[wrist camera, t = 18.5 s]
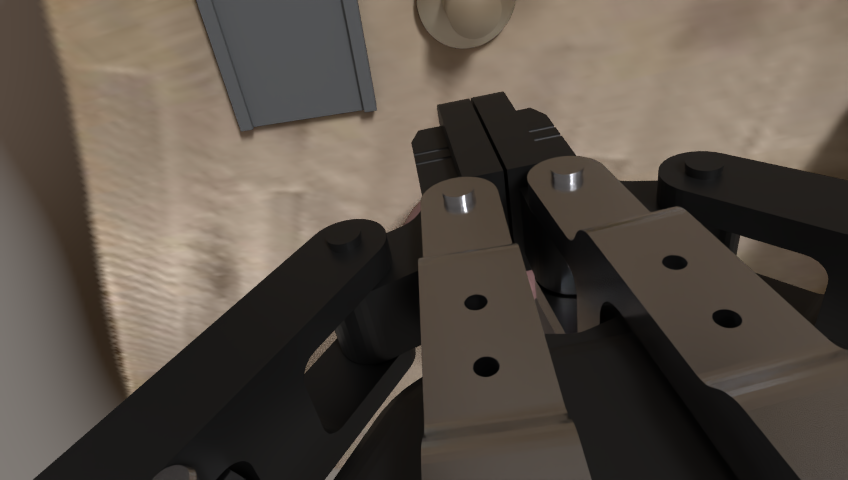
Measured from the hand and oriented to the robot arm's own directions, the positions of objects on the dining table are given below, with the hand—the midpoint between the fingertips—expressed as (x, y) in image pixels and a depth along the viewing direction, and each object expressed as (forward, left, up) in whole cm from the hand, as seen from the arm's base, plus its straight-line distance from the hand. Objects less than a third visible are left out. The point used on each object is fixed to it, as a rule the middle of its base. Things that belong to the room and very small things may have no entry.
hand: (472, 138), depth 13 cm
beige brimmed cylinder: (-3, -3, -25) cm, 25 cm away
